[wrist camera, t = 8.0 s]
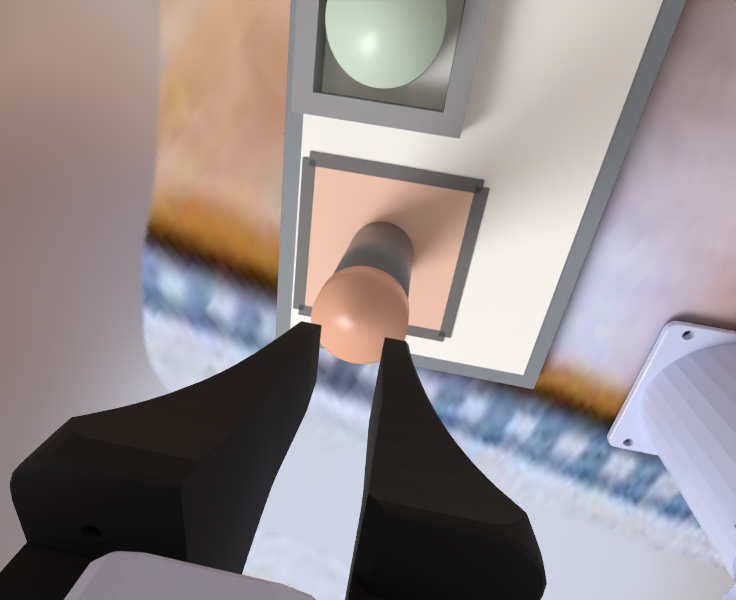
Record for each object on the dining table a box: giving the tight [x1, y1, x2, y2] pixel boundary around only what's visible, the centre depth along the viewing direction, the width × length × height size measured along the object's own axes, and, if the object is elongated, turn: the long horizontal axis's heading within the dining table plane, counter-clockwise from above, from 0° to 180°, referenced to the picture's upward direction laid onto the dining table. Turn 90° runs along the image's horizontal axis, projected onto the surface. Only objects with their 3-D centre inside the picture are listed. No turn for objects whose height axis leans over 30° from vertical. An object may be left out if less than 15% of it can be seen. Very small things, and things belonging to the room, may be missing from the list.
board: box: [276, 0, 686, 389], centre depth 18 cm, size 14×20×2 cm
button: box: [325, 0, 447, 89], centre depth 15 cm, size 4×4×2 cm
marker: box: [311, 222, 413, 364], centre depth 17 cm, size 3×3×7 cm
